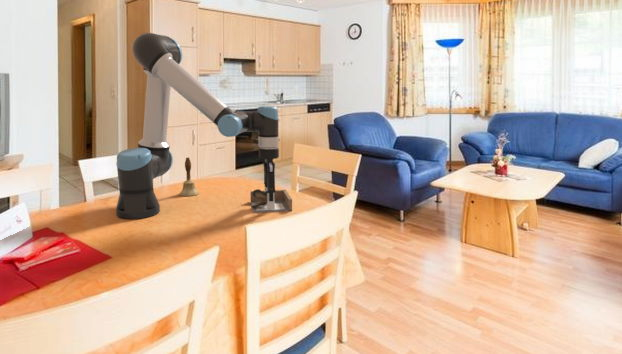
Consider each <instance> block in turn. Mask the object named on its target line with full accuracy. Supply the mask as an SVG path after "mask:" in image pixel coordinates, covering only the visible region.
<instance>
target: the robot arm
mask: <svg viewBox="0 0 622 354" xmlns="http://www.w3.org/2000/svg"><path fill="white" fill-rule="evenodd" d="M132 54H133V57H134V58H135V60H136V61H137V62H138V64H139V65H140V66H142V68H143V70H142V71H143V72H144V73H145V74H146V76H147V78H146V88H145V89H146V90H145V102H144V103H145V105H144V116H143V117H144V118H143V119H144V120H143V129H142V130H143V131H142V133H143V134H142V139H140V140H138V144H137V147H134V148H133V147H131V148H127V149H123V150H122V151H120V152H118V154H117V155H116V163H115V164H116V170H117V178H118V179H117V180H118V189H119V196H118V199H117V204H116V207H115V215H116V217H118V218H120V219H124V220H127V219H128V220H130V219H131V220H133V219H136V220H137V219H145V218H149V217H153V216H156V215H157V214H159V213H160V212H161V209H160V208H161V206H160V203H159V200H158V198H157V195H156V192H155V191H154V179H156V178H159V177H162V176H164V175H165V174H166V173H168V171H169V170H170V169H172V166H173V163H174V160H173V159H174V157H173V154H172V152H171V150H170V147H171V144H170V143H169V142H168V141H167V135H168V133H167V132H168V122H169V121H168V120H169V112H170V111H169V110H170V99H171V98H170V97H171V88H172V89H174V90H175V91H176V92H177V93H178V94H179V95H180V96H181V97H182V98H184V99H185V100H186V101H187V102H188V103H190V105H192V106H193V107H194V108H196V109H197V110H198V111H199V112H200V113H202V114H203V116H205V117H206V118H208V120H210V121H211V122H212V123H213V124H214V125H215V126H217V130H218V132H219V133H220V135H222V136H223V137H227V138H233V137H237V136H238V135H240V134H242V133H245V132H246V133H250V132H252V133H253V132H255V133H256V132H257V133H258V137H257V138H258V142H257V143H258V147H259V149H258V157H259V159H260V160H261V159H262V160H263V164H262V165H263V185H264V191H265V192H266V193H267V209H275V198H274V192H275V190H276V180H275V179H276V178H275V174H276V173H275V171H276V170H275V169H276V163H275V162H274V159H275V160H276V159H278V158H279V157H280V154H279V152H280V149H279V148H278V147H279V142H280V141H281V139H280V138H279V110H278V109H279V108H278V107H277V106H274V105H259V106H258V108H257V110H256V111H242V110H241V111H240V110H239V111H238V110H233V109H231V108H230V107H229V106H228V105H227V104H225V102H223V101H222V100H221V99H220V98H218V97H217V96H216V95H215V94H214V93H212V91H210V90H209V89H208V88H207V87H206V86H205V85H204V84H202V83H201V82H200V81H199V80H198V79H196V77H194V76H193V75H192V74H191V73H189V72H188V71H187V70H186V69H185V68H184V67H183V66H181V65H180V64H181V62H182V59H183V51H182V48H181V46H180V44H179V43H178V41H176V40H175V39H174V38H172V37H170V36H168V35H167V36H166V35H162V34H157V33H153V32H145V33H142V34H140V35H138V36H137V37H136V38H135V39H134V42H133V43H132Z"/></svg>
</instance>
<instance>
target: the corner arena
mask: <svg viewBox="0 0 622 354" xmlns="http://www.w3.org/2000/svg"><path fill="white" fill-rule="evenodd" d="M253 191H254V190H250V191H249V192H250V204H251V206H253V205H255V204H256V203H257V202H260V201H262V200H263V199H258V198H256V197H254V196H253V194H252V193H253ZM262 191H263V192H265V190H262ZM274 193H275V197H276V198H275V209H267V204H266V205H261V206H258V207H256V208H252V211H253V213H254V214H256V213H274V212H276V213H277V212H292V211H293V198H292V197H291V195H290V194H289V192H288V191H287V190H286V189H275V192H274Z"/></svg>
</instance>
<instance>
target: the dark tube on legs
mask: <svg viewBox="0 0 622 354" xmlns="http://www.w3.org/2000/svg"><path fill="white" fill-rule="evenodd" d="M252 191H253V193H252V194H253V196H254V197H256V198H258V199H263V200H262V201H260V202H257V203H256V204H255V205H253V206H252V205H251V206H250V207H251V208H252V209H253V208H256V207H258V206H261V205H266V204H267V193H266V192H263V191H264V190H261V189H258V188H257V189H254V190H252ZM274 198H276V197H275V193H274Z"/></svg>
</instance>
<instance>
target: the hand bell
mask: <svg viewBox="0 0 622 354" xmlns="http://www.w3.org/2000/svg"><path fill="white" fill-rule="evenodd" d="M184 169H185V171H186V180H185V181H183V185H182V189H181V191H179V196H180V197H194V196H198V195H199V194H200V192H199V191H198V190H197V188H196V186H195V185H196V184H195V181H193V180H192V179H191V169H192V162H191V159H190V157H185V162H184Z"/></svg>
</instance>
